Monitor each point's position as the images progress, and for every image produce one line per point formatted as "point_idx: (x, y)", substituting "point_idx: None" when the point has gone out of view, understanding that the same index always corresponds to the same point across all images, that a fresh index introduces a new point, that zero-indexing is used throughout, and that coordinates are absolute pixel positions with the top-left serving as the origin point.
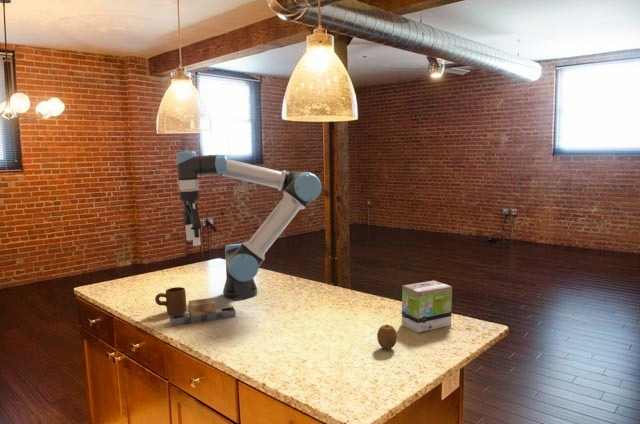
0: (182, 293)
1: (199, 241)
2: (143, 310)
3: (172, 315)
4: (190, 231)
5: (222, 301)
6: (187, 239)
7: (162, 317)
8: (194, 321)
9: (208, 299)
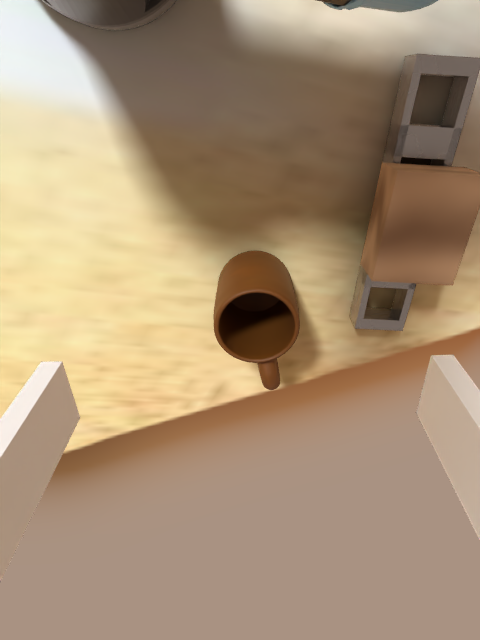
0: (292, 299)
1: (470, 392)
2: (176, 373)
3: (361, 320)
4: (19, 466)
5: (195, 61)
6: (74, 422)
7: None
8: None
9: (414, 195)
